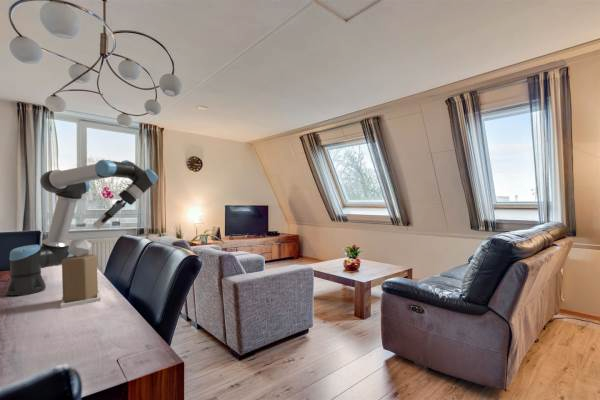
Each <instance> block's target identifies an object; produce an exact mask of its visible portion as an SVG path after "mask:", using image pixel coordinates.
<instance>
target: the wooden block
mask: <svg viewBox="0 0 600 400" xmlns="http://www.w3.org/2000/svg"><path fill="white" fill-rule="evenodd" d="M61 275H62V276H61V281H62V297H63V301H65V303H69V302H75V301H81V300H87V299H92V298H97V294H98V291H99V289H98V288H99V287H98V284H99V282H98V281H99V280H98V257H97V254H93V253H92V254H88V255H86V256H81V257H76V256H74V255H71V257H68V258H64V259H63V260H62V264H61Z"/></svg>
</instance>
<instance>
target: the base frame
mask: <svg viewBox="0 0 600 400" xmlns="http://www.w3.org/2000/svg"><path fill="white" fill-rule="evenodd" d="M101 298H102V297H101V293H100V290H98V294H97V296H96V297H94V298H92V299H87V300H81V301H75V302H69V303H65V301H63V296H62V297H61V301H60V309H65V308H70V307H74V306H76V307H77V306H79V305H80V306H81V305H86V304H91V303H97V302H96V301H98V302H101V301H100V300H102V299H101Z"/></svg>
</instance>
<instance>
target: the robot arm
mask: <svg viewBox="0 0 600 400" xmlns="http://www.w3.org/2000/svg"><path fill="white" fill-rule="evenodd" d="M107 178H125V179H129V180H130V181H131V183H128V184H127V186H126V187H125V189H123V190H122V191H121V192H120V193H119V194H118V196H119V197H120V198H121V199H119V200H117V201H115V203H114V204H112V206H111V207H110V208H109V209H108V210H107V211H105V212H104V213H103V214H102V215H101V216H100V217H98V219H97V220H96V221H94V222H93V224H92V225H93V227H94V228H96V229H97V230H100V229H101V228H102V227H103V226H104V225H105V224H107V222H108V221H109V220H111V219H112V218H113V217H115V215H117V213H118V212H119V211H121V210H122V209H123V208H124V207H126V205H127V204H128V205H130V206H132V205H133V204H134V203H135V202H136V201H137V199H139V198H140V197H141V196H143V195H144V194H145V193H146V192H147V191H148V190H149V189H150V188H151V187H152V186H154V184H156V182H157V181H158V180H159V176H158V175H157V173H156V172H155V171H153V170H152V169H150V168H146V169H145V170H144V169H142V168H141V167H139V166H138V165H137V164H135V163H134V162H132V161H130V160H127V159H126V160H122V161H115V160H110V159H101V160H97V162H96V163H94V164H89V165H84V166H83V165H82V166H77V167H73V168H69V169H65V170H64V169H63V170H61V169H54V170H49V171H46V172H43V174H42V175H41V176H40V179H39V183H40V186H41V188H42V189H44V190H45V191H46V192H48V193H51V194H52V193H53V194H55V196H56V197H57V201H56V204H55V208H54V212H53V216H52V219H51V224H50V227H49V231H48V233H47V234H48V235H47V238H45V239H43V240H42V242H41V243H42V244H41V245H40V244H29V245H23V246H19V247H16V248H13V249H12V250H10V253H9V258H8V260H9V269H10V273H9V275H10V276H9V277H10V279H9V281H8V284H7V287H6V290H5V295H20V296H24V295H23V294H27V295H30V294H29V293H32V294H35V293H34V292H36V293H39V292H38V291H40V292H42V291H41V290H43V291H45V290H46V289H45V288H46V282H45V280H44V279H43V276H42V269H45V268H48V267H49V268H50V267H53V266H59V265H62V260H63V259H64V258H68V257H72V254H71V253H69V252H68V249H69V246H70V242H69V241H68V237H69V232H70V229H71V225H72V221H73V217H74V214H75V211H76V206H77V202H78V201H79V200H81V199H82V198H83V195H84V194H86V193H87V192H89V190H90V186H91V183H90V182H93V181H96V180H100V179H107ZM44 289H45V290H44Z"/></svg>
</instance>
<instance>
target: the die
mask: <svg viewBox="0 0 600 400" xmlns="http://www.w3.org/2000/svg"><path fill="white" fill-rule="evenodd" d="M69 245H70V246H69V249H68V252H69V253H71V256H76V257H81V256H86V255H89V253H90V251H91V248H92V243H91V242H89V241H88V240H86V239H85V238H84V239H83V238H78V239H73V240H71V241H70V243H69Z"/></svg>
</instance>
